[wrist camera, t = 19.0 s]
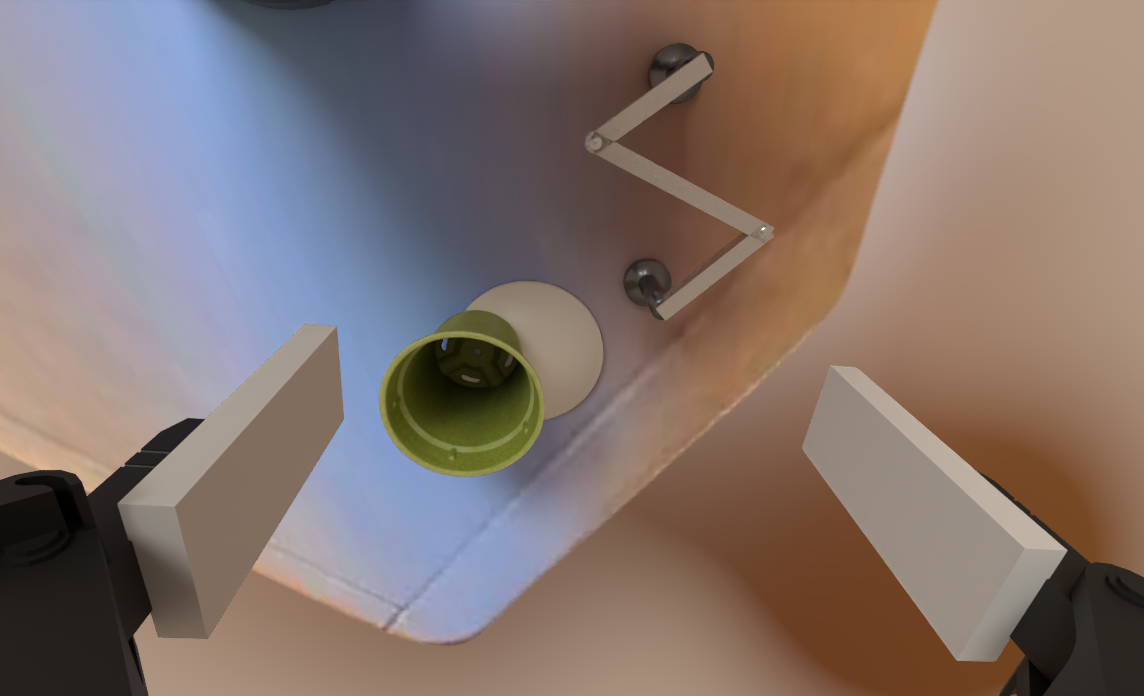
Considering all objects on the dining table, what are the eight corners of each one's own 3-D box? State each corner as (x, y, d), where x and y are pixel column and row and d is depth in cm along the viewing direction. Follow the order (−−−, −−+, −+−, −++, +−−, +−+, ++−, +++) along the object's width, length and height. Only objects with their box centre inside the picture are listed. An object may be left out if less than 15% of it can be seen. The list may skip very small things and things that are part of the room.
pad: (453, 414, 42) (451, 418, 41) (451, 275, 37) (450, 277, 37) (595, 420, 42) (595, 424, 42) (610, 285, 38) (611, 287, 38)
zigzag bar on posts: (565, 297, 38) (568, 331, 32) (585, 35, 32) (594, 17, 26) (719, 307, 39) (751, 342, 33) (769, 53, 33) (820, 40, 27)
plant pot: (400, 391, 40) (367, 461, 32) (422, 270, 36) (392, 314, 28) (524, 417, 41) (523, 489, 33) (556, 303, 38) (564, 354, 30)
